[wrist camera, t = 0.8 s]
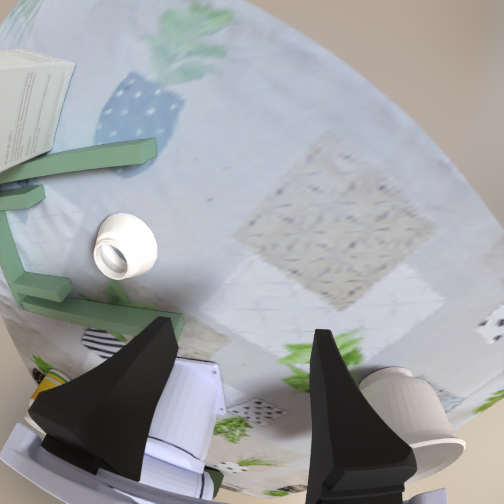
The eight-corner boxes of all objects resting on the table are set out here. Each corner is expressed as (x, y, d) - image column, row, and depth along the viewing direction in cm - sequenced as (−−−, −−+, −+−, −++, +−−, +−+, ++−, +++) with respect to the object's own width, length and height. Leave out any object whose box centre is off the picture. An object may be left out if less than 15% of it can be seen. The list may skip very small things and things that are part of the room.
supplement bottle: (84, 392, 36) (57, 440, 28) (65, 389, 37) (39, 433, 29) (61, 368, 34) (30, 417, 25) (44, 367, 35) (15, 411, 27)
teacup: (298, 418, 30) (293, 496, 21) (362, 332, 23) (379, 442, 14) (386, 427, 30) (392, 496, 22) (462, 352, 23) (492, 436, 14)
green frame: (184, 324, 25) (150, 402, 18) (30, 297, 27) (-11, 342, 20) (155, 137, 17) (72, 172, 10) (-11, 170, 20) (-71, 203, 13)
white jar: (128, 198, 20) (93, 233, 22) (107, 214, 17) (72, 251, 19) (172, 251, 21) (132, 279, 23) (156, 273, 19) (116, 300, 21)
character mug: (179, 456, 42) (161, 517, 31) (217, 462, 41) (202, 527, 30) (199, 475, 47) (185, 527, 36) (232, 479, 46) (221, 534, 35)
